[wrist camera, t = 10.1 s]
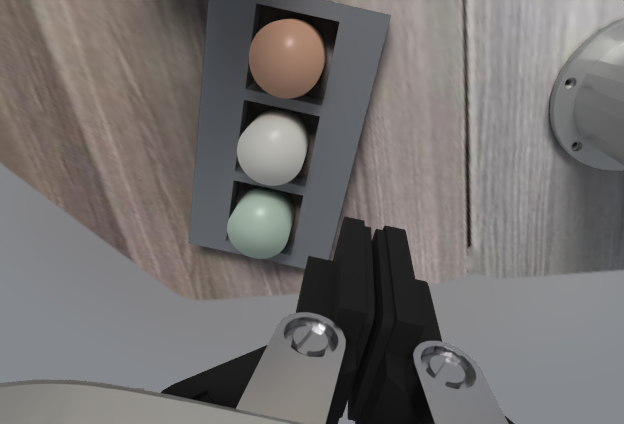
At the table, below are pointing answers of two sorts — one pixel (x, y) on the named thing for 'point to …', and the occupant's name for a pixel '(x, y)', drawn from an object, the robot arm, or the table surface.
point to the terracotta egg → (287, 57)
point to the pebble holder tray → (332, 109)
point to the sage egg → (261, 222)
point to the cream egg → (273, 147)
